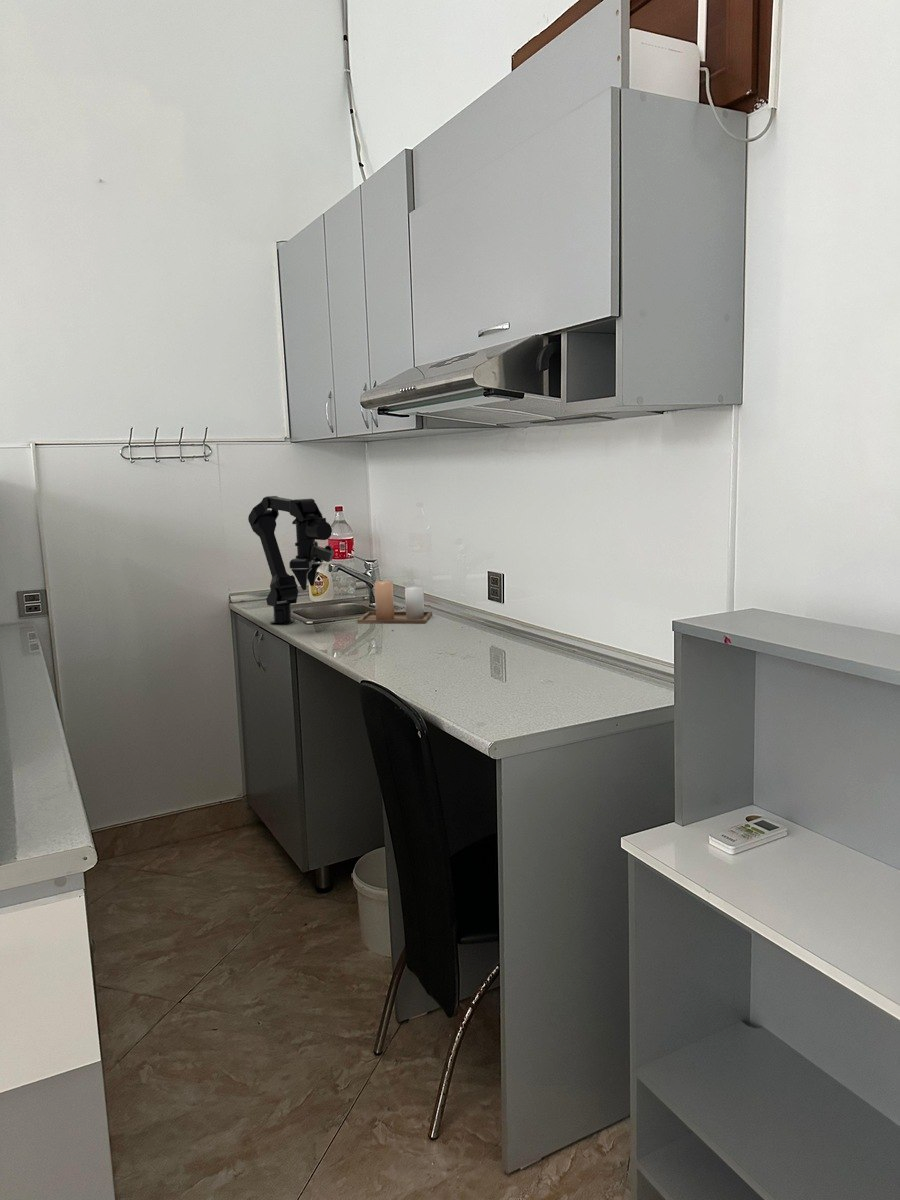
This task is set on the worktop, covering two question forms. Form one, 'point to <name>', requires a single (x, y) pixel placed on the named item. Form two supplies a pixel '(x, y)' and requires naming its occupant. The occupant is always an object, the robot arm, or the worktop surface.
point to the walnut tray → (398, 619)
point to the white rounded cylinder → (414, 602)
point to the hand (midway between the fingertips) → (308, 587)
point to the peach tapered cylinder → (384, 600)
